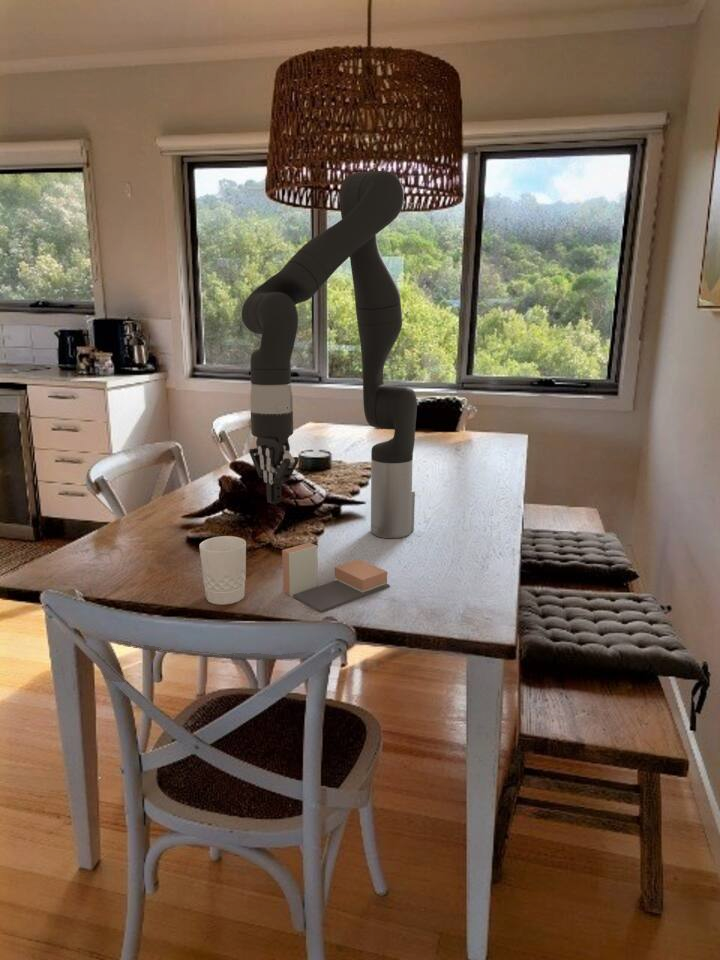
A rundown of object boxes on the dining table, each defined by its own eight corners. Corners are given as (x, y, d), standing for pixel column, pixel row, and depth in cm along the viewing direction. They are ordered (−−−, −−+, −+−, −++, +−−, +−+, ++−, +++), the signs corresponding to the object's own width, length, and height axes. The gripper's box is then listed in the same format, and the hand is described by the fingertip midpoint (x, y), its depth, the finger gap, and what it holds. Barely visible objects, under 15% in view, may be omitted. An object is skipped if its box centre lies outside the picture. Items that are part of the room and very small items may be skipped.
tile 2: (358, 559, 123) (387, 571, 117) (358, 570, 123) (387, 583, 117) (334, 566, 119) (362, 580, 113) (334, 578, 119) (362, 592, 114)
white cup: (193, 599, 112) (189, 545, 109) (225, 584, 118) (223, 533, 115) (225, 610, 107) (222, 555, 105) (257, 594, 114) (255, 541, 111)
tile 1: (310, 582, 119) (309, 542, 117) (317, 586, 117) (317, 545, 115) (283, 591, 115) (282, 550, 113) (290, 596, 113) (289, 553, 111)
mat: (361, 573, 123) (361, 571, 123) (389, 586, 117) (389, 584, 117) (292, 596, 113) (292, 594, 112) (320, 612, 107) (320, 610, 107)
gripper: (311, 411, 111) (312, 506, 115) (269, 403, 121) (271, 491, 125) (275, 415, 106) (277, 514, 111) (234, 406, 116) (237, 498, 120)
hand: (274, 502), depth 118 cm, fingers closed
